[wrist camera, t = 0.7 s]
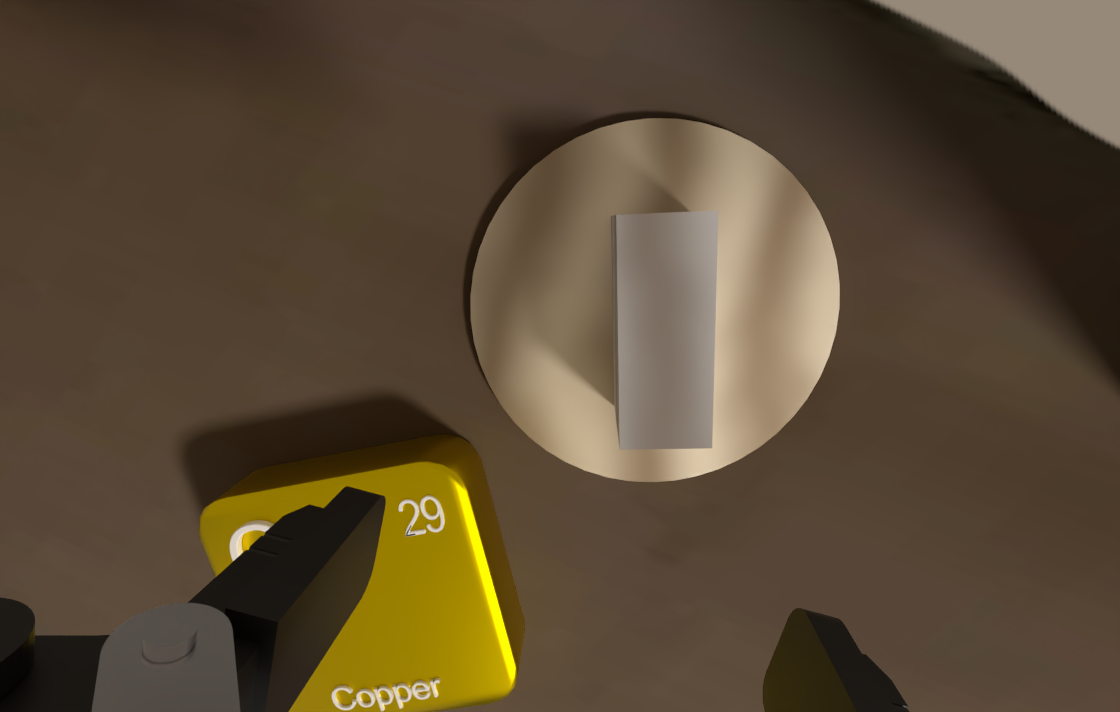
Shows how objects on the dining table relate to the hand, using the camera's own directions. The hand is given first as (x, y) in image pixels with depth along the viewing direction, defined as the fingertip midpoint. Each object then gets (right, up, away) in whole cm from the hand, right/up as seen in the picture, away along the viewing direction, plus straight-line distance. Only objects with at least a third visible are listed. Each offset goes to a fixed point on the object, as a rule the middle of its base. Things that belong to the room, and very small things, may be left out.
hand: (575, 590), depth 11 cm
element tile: (-11, -8, +24) cm, 28 cm away
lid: (+4, +7, +19) cm, 21 cm away
